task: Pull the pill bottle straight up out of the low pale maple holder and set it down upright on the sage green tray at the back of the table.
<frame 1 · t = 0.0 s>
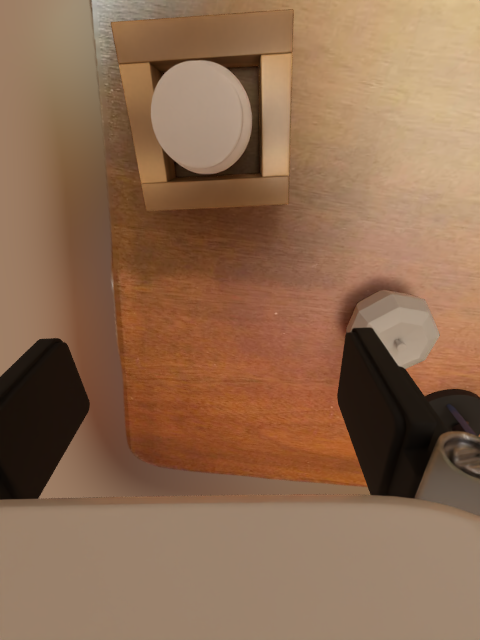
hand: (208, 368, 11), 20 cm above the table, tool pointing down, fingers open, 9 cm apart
figurine: (441, 418, 40), on the table
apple: (373, 310, 33), on the table
pill bottle: (214, 126, 25), resting in holder
holder: (214, 126, 24), on the table
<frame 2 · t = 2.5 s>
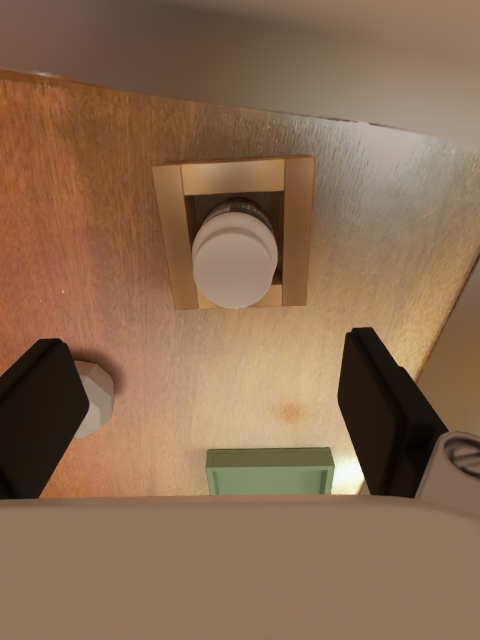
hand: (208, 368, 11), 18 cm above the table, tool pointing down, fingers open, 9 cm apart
tray: (268, 487, 44), on the table
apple: (91, 373, 35), on the table
pill bottle: (237, 230, 27), resting in holder
holder: (237, 231, 27), on the table
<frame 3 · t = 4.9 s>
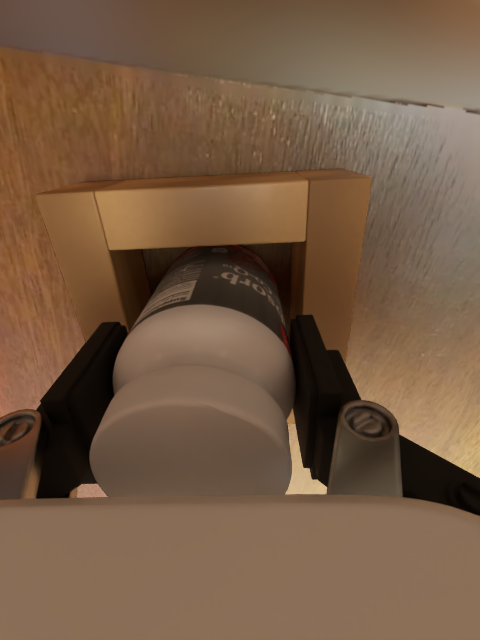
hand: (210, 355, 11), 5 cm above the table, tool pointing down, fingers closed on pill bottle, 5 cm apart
pill bottle: (220, 293, 16), resting in holder, touching gripper
holder: (220, 294, 16), on the table
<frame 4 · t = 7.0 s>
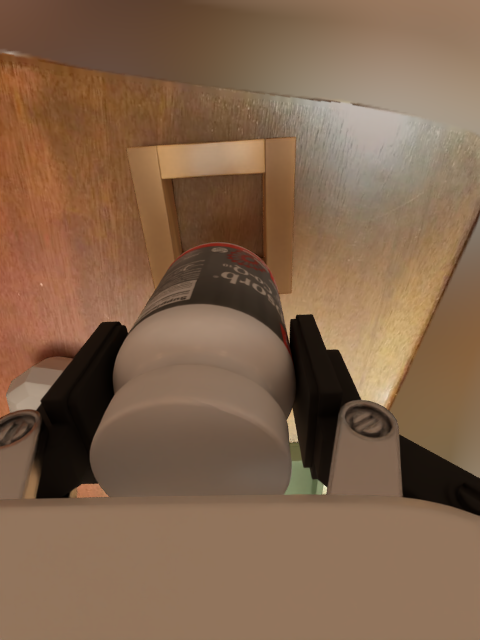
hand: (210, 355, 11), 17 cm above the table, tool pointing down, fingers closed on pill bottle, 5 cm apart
tray: (260, 484, 44), on the table
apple: (75, 370, 34), on the table
pill bottle: (220, 292, 16), point 12 cm above the table, touching gripper
holder: (220, 218, 26), on the table
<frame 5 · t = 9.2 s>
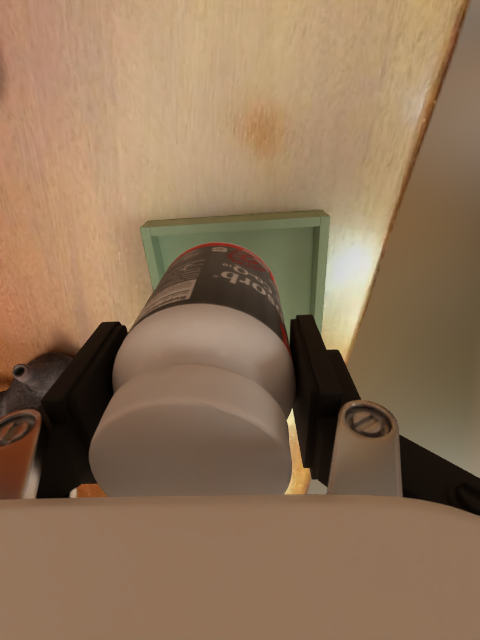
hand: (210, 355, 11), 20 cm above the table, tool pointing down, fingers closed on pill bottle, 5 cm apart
tray: (240, 299, 32), on the table
pill bottle: (220, 292, 16), point 14 cm above the table, touching gripper
teapot: (48, 377, 37), on the table
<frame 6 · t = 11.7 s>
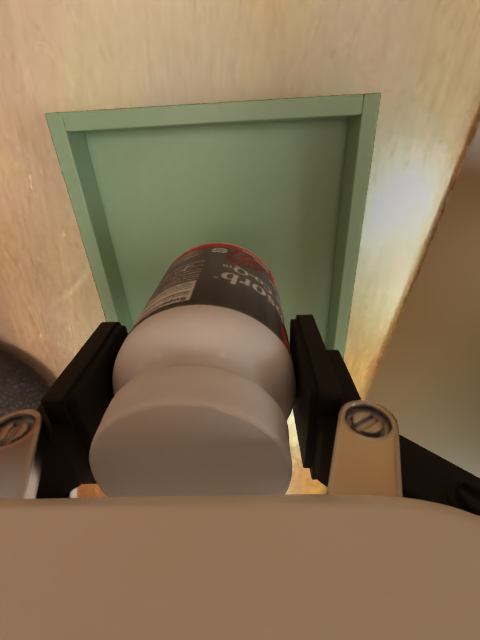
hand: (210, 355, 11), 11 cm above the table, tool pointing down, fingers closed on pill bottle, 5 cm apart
tray: (225, 258, 21), on the table
pill bottle: (220, 293, 16), point 6 cm above the table, touching gripper
when the fingers open (6 cm above the table, at t = 13.5 s): pill bottle stays where it is, resting on tray.
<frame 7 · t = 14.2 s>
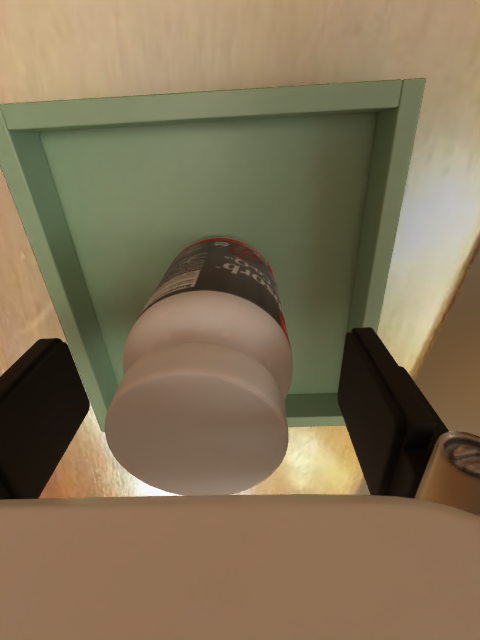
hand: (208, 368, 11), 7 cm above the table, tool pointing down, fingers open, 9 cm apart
tray: (220, 284, 17), on the table
pill bottle: (222, 286, 17), resting on tray
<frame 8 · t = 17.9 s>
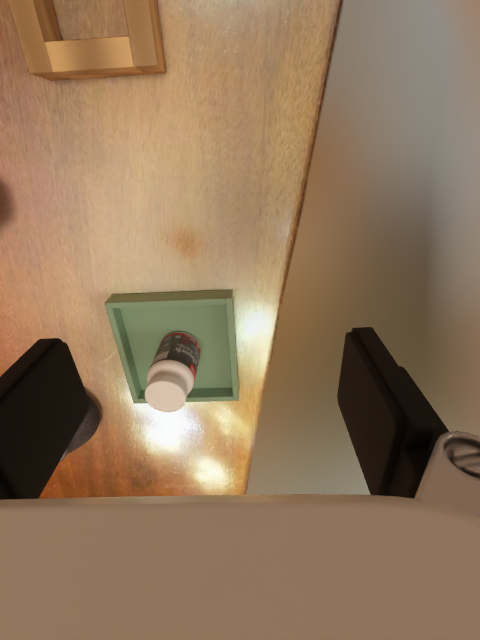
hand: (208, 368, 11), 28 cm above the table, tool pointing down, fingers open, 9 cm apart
tray: (181, 345, 44), on the table
pill bottle: (181, 346, 44), resting on tray
teapot: (42, 396, 50), on the table
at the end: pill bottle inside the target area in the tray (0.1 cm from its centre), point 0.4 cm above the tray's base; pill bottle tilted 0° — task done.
